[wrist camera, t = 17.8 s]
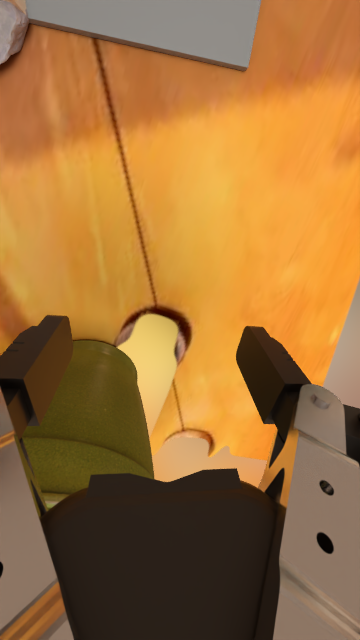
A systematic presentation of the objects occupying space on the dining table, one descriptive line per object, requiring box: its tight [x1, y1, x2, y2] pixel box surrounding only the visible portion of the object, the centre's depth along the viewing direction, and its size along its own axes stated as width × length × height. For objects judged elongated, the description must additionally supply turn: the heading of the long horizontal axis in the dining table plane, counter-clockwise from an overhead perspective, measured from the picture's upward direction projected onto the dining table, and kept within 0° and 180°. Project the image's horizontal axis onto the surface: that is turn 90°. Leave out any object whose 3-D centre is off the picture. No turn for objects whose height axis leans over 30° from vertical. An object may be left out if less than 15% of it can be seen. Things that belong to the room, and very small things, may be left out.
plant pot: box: [22, 340, 154, 510], centre depth 36 cm, size 30×30×29 cm
